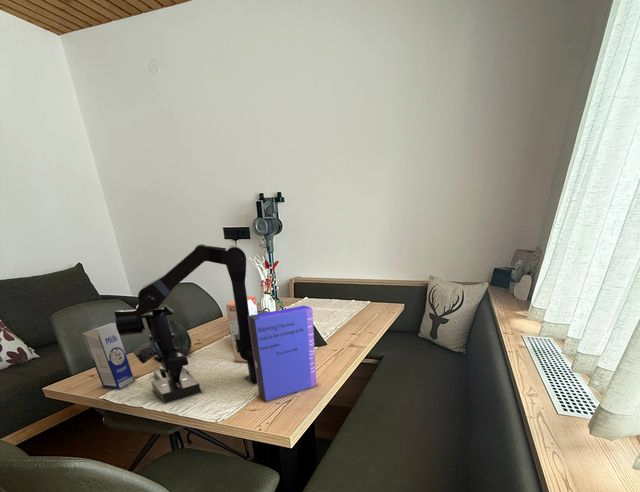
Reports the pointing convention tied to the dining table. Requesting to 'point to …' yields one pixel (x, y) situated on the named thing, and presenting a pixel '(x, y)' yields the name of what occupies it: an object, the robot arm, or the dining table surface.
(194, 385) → the panel
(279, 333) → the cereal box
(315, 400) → the dining table surface
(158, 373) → the block
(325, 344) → the dining table surface
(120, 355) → the milk carton
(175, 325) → the squash
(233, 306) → the cracker box
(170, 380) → the knob
